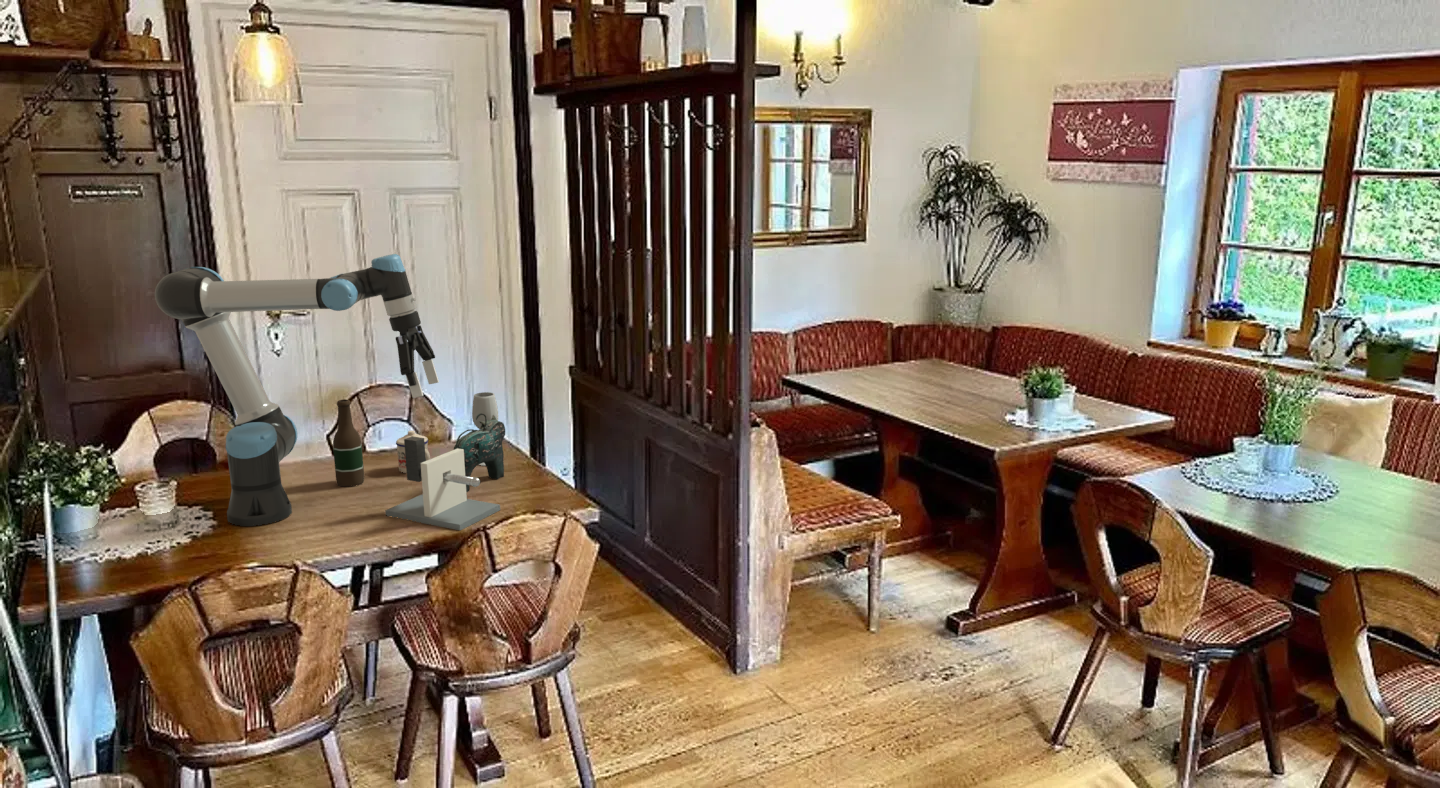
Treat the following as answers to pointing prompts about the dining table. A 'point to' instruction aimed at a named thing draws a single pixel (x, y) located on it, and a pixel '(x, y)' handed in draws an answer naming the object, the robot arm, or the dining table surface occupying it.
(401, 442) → the teacup with lid
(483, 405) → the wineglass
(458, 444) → the green animal figurine
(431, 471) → the panel with square hole
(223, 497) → the dining table surface
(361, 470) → the beer bottle
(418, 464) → the hook rod
